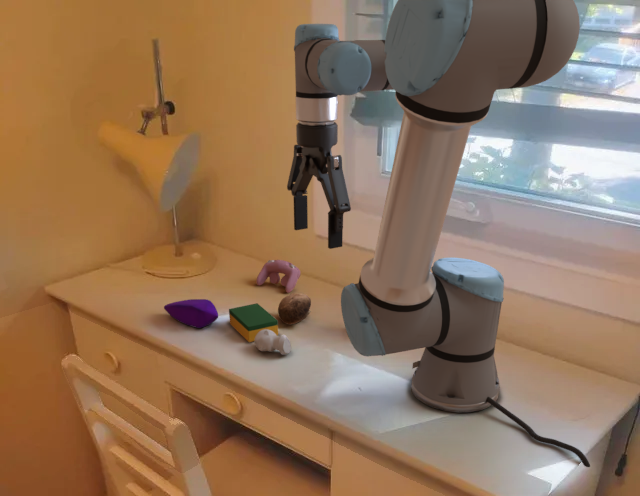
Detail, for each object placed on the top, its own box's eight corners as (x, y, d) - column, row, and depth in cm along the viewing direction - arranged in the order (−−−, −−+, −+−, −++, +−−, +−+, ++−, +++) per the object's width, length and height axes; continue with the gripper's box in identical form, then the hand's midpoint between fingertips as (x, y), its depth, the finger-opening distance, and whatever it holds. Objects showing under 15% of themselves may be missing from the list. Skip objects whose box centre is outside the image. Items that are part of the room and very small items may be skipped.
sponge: (278, 335, 145) (277, 320, 143) (249, 342, 142) (248, 327, 140) (258, 317, 152) (257, 303, 150) (229, 323, 150) (228, 308, 148)
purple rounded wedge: (169, 292, 154) (223, 300, 146) (173, 314, 156) (227, 322, 149) (154, 300, 150) (208, 308, 143) (158, 322, 153) (212, 331, 145)
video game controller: (298, 295, 167) (305, 265, 165) (288, 292, 162) (295, 262, 161) (263, 286, 171) (270, 257, 170) (253, 284, 167) (260, 254, 166)
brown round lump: (321, 299, 152) (305, 280, 148) (318, 327, 148) (301, 308, 144) (291, 311, 156) (274, 293, 152) (286, 338, 152) (269, 320, 148)
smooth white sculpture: (251, 353, 141) (269, 338, 143) (278, 365, 136) (297, 350, 138) (245, 336, 138) (263, 321, 140) (272, 348, 133) (291, 333, 135)
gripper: (372, 130, 121) (368, 252, 132) (302, 111, 139) (303, 219, 151) (334, 134, 118) (333, 259, 129) (267, 114, 136) (272, 224, 147)
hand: (317, 238), depth 140 cm, fingers open, 13 cm apart
